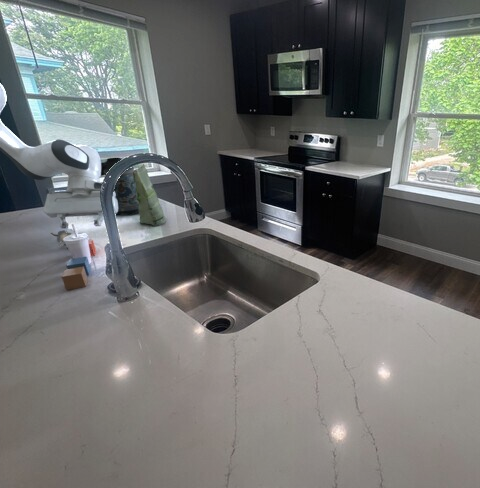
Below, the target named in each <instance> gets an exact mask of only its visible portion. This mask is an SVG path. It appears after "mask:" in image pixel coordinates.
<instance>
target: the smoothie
mask: <svg viewBox="0 0 480 488" xmlns="http://www.w3.org/2000/svg"><path fill="white" fill-rule="evenodd" d="M71 227H72V230H73V231H74V233H75V234H72V235H68V236H66V237H64V238H63V241H64V243H65V245H66V248H67V247H68V249H67V250H69V252H70V254H71V256H72V258H73V259H75V258H81V257H87V259H88V261H89V264H91V263H92V256H90V250H89V244H88V240H89V235H88V234H87V233H85V232H77V230H76V226H75V224H74V223H72V224H71Z"/></svg>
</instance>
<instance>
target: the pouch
mask: <svg viewBox="0 0 480 488" xmlns="http://www.w3.org/2000/svg"><path fill="white" fill-rule="evenodd" d="M133 178H134V181H135V185H136V192H137V200H138V201H139V205H140V207H139V209H138V210H139V214H138V216H139V224H145V225H146V224H147V225H152V226H154V227H157V226H160V225H163V224H164V223H166V221H167V218H166V215H165V213H164V210H163V208H162V205H161V203H160V199H159V196H158V194H157V192H156V191H155V188H154V185H153V183H152V182H151V178H150V176H149V172H148V169H147V168H146V165H145V164H144V163H142V165H141V166H138V168H135V169H134V172H133Z"/></svg>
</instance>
